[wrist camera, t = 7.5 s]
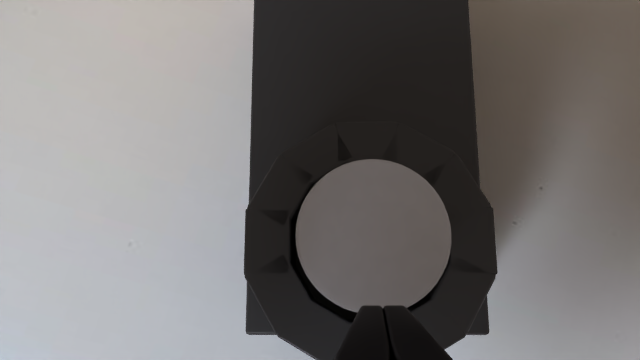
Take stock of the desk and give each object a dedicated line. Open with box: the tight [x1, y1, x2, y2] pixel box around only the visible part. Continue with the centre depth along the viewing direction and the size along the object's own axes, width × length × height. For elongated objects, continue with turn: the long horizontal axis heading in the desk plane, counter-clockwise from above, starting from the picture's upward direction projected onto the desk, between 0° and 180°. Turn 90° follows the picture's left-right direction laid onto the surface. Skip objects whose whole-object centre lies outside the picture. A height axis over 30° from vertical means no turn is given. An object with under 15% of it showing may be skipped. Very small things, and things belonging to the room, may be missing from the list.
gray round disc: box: [296, 159, 451, 313], centre depth 13 cm, size 4×4×2 cm
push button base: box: [244, 0, 497, 360], centre depth 18 cm, size 14×7×7 cm, turn 0°
